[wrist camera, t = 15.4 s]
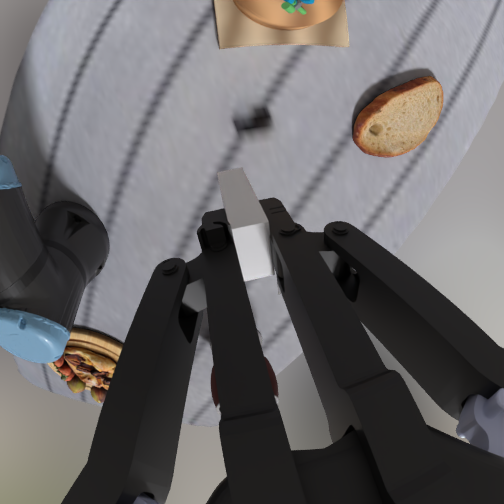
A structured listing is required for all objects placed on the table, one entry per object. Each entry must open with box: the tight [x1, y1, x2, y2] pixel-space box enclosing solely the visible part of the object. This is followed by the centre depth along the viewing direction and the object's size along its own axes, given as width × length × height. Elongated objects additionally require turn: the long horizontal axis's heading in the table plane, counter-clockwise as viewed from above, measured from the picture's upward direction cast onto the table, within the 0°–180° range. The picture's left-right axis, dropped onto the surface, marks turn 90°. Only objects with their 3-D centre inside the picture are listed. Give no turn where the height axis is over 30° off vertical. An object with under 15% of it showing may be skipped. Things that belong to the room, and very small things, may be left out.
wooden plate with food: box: [47, 327, 123, 403], centre depth 59 cm, size 32×32×8 cm
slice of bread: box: [352, 76, 443, 157], centre depth 36 cm, size 18×18×4 cm
